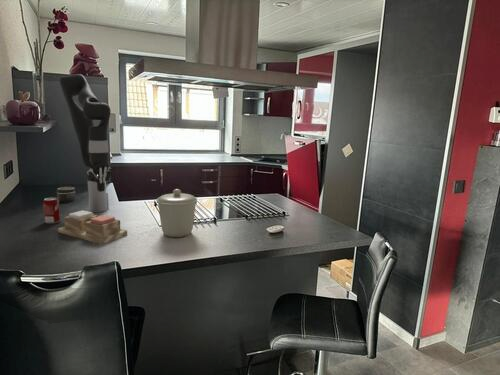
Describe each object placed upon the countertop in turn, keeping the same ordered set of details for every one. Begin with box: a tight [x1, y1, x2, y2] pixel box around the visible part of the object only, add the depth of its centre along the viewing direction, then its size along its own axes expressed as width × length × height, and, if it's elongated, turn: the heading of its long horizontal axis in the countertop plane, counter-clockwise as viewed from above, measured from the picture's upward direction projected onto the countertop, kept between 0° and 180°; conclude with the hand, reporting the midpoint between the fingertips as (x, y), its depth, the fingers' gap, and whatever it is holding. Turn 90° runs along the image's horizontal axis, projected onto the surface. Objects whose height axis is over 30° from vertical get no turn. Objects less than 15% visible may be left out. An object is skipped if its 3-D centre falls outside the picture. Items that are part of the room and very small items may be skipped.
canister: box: [155, 188, 198, 238], centre depth 160 cm, size 18×18×21 cm
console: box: [57, 213, 128, 245], centre depth 158 cm, size 14×28×7 cm, turn 63°
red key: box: [90, 214, 116, 225], centre depth 154 cm, size 7×7×3 cm
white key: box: [68, 210, 94, 220], centre depth 160 cm, size 7×7×3 cm
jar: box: [56, 186, 76, 203], centre depth 215 cm, size 10×10×8 cm
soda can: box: [42, 197, 61, 225], centre depth 171 cm, size 7×7×12 cm
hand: (101, 191), depth 151 cm, fingers closed
